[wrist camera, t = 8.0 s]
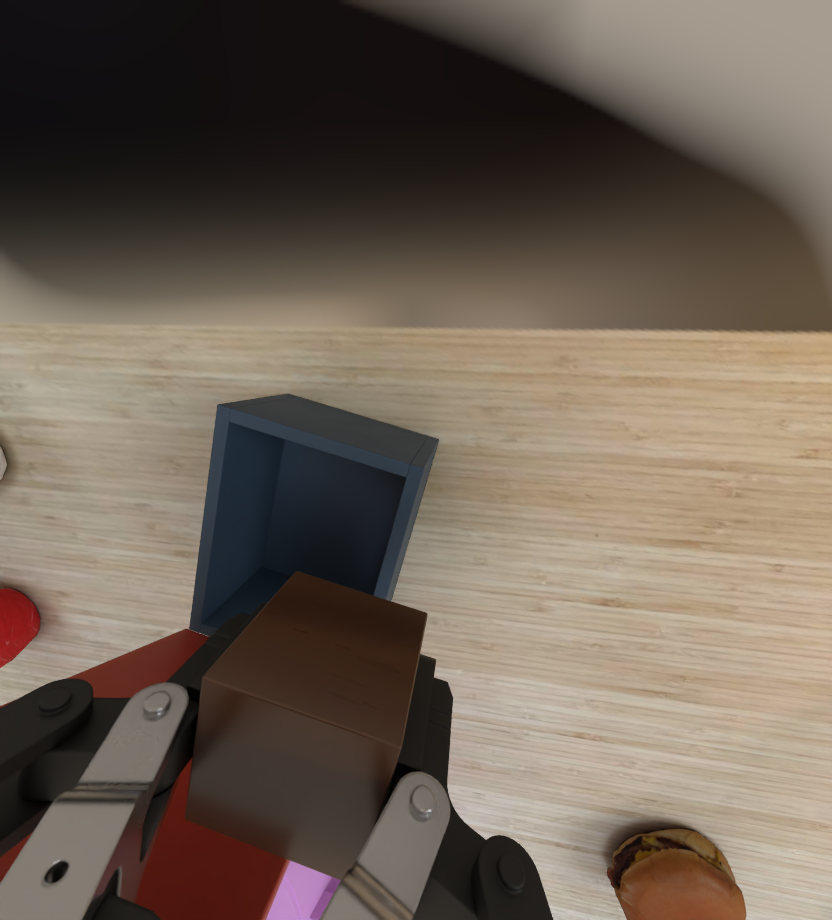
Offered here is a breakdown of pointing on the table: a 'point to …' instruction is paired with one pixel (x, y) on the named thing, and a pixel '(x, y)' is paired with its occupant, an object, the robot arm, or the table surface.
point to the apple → (2, 463)
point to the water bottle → (16, 623)
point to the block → (306, 723)
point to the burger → (674, 878)
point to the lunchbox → (304, 503)
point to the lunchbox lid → (180, 841)
